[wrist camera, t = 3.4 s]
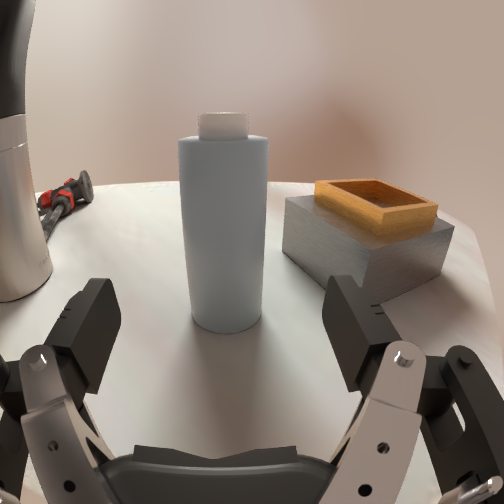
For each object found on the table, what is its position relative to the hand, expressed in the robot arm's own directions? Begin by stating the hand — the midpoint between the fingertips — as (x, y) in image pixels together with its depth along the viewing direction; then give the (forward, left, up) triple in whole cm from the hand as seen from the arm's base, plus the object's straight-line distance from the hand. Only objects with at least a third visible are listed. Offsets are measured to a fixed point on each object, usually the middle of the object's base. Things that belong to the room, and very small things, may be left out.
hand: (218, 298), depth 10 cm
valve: (-18, +42, -9) cm, 46 cm away
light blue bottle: (+3, +9, -9) cm, 13 cm away
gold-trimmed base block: (+19, +10, -9) cm, 23 cm away
